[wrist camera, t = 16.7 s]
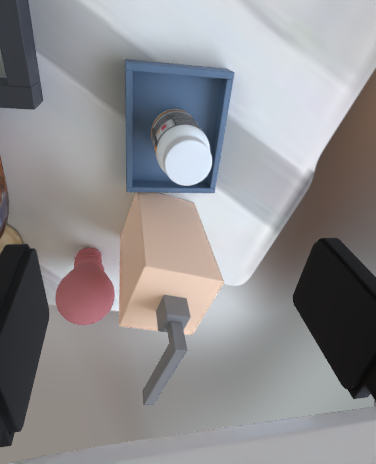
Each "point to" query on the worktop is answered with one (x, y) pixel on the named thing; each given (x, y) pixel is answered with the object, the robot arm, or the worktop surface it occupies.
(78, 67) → the worktop surface
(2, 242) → the hand bell
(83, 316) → the light bulb
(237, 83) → the worktop surface
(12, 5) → the socket base
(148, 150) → the tray
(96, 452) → the robot arm
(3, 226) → the tin
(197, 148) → the pill bottle
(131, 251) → the soap dispenser
